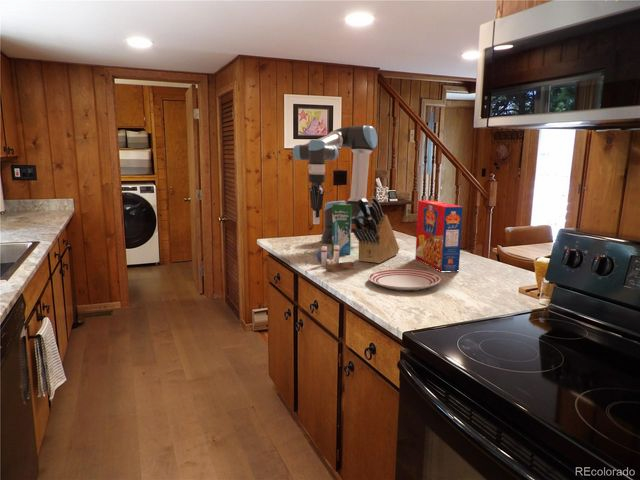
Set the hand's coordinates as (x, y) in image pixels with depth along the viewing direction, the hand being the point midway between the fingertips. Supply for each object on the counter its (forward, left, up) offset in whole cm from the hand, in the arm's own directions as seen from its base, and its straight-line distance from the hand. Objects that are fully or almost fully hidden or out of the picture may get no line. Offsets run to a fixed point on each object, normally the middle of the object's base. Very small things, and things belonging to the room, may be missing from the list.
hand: (316, 224), depth 222 cm
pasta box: (-45, +33, -17) cm, 58 cm away
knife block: (-25, +13, -17) cm, 33 cm away
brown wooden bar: (0, +26, -16) cm, 31 cm away
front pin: (+1, +14, -15) cm, 20 cm away
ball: (0, +9, -13) cm, 16 cm away
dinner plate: (-13, +55, -17) cm, 59 cm away
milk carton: (-17, -7, -17) cm, 25 cm away
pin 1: (+3, +16, -16) cm, 23 cm away
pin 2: (-3, +16, -16) cm, 23 cm away
